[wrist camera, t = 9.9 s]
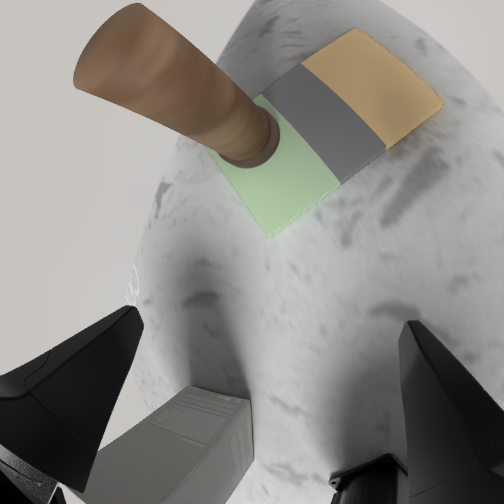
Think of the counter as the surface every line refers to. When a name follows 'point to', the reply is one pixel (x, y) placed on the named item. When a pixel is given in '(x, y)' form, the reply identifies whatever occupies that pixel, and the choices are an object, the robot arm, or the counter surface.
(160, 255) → the counter surface
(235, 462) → the skincare box
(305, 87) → the striped board
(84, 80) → the walnut peg
